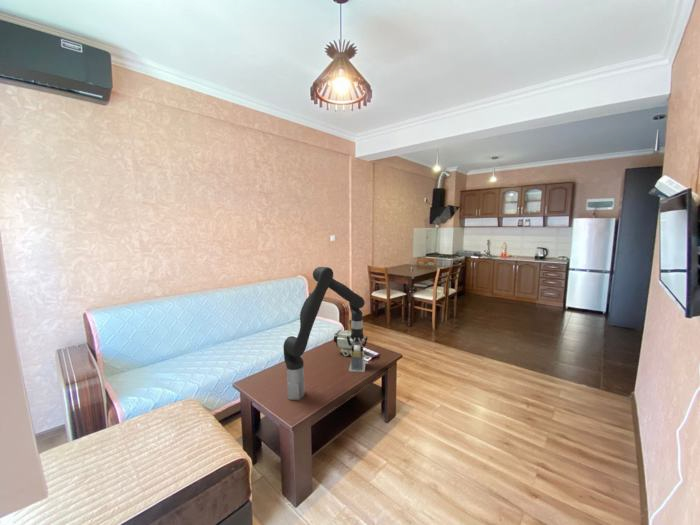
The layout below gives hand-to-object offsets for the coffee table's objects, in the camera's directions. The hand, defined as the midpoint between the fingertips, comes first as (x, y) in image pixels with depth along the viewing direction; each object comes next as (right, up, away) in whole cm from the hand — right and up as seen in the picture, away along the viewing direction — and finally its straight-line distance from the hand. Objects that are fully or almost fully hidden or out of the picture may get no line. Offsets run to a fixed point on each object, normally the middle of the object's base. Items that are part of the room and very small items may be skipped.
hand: (357, 351), depth 192 cm
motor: (0, -11, +2) cm, 11 cm away
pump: (0, -1, 0) cm, 1 cm away
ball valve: (-7, -8, +19) cm, 22 cm away
